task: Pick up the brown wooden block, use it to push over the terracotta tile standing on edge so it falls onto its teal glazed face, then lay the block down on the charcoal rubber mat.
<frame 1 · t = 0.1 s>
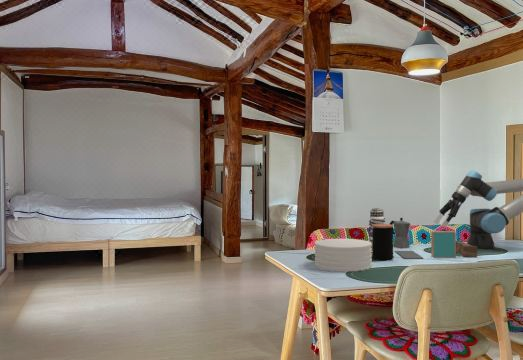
hand: (439, 224, 271), 15 cm above the table, tool tilted 35°, fingers open, 13 cm apart
plate stack: (343, 266, 233), on the table
coffeepot: (400, 247, 286), on the table
coffee jar: (382, 259, 249), on the table
glazed tile: (443, 257, 251), on the table
decorative candle: (377, 252, 270), on the table
rubber mat: (408, 255, 258), on the table
brown wooden block: (463, 254, 259), on the table
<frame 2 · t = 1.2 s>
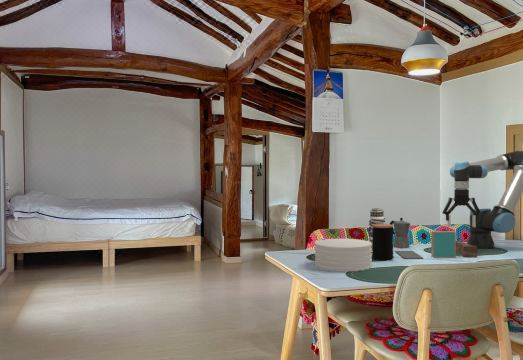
hand: (461, 226, 262), 15 cm above the table, tool pointing down, fingers open, 13 cm apart
nothing on the table moved.
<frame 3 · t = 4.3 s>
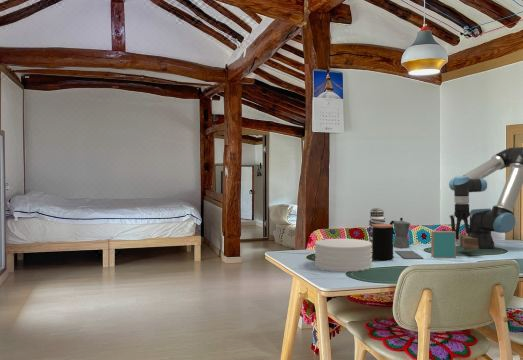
hand: (462, 245, 262), 5 cm above the table, tool pointing down, fingers closed on brown wooden block, 3 cm apart
brown wooden block: (464, 246, 259), point 4 cm above the table, touching gripper
everything else where it was.
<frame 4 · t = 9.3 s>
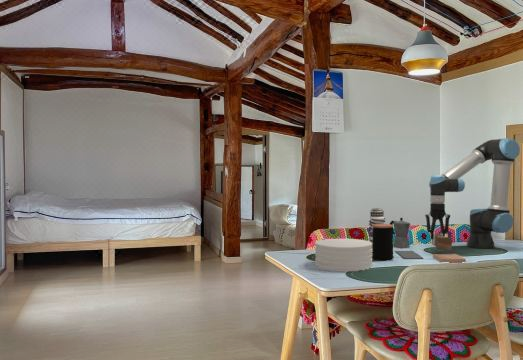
hand: (437, 244, 260), 5 cm above the table, tool pointing down, fingers closed on brown wooden block, 3 cm apart
glazed tile: (444, 256, 249), point 1 cm above the table, tilted 90°
brown wooden block: (439, 246, 257), point 5 cm above the table, touching gripper
everything else where it was.
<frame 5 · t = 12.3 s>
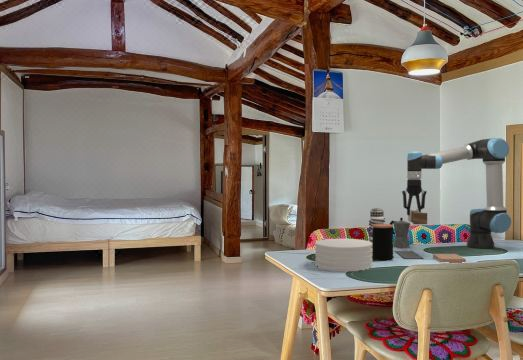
hand: (413, 221, 261), 18 cm above the table, tool pointing down, fingers closed on brown wooden block, 3 cm apart
brown wooden block: (415, 222, 258), point 18 cm above the table, touching gripper
everything else where it was.
when the fingers open (1 cm above the table, at t = 14.9 s): brown wooden block stays where it is, resting on rubber mat.
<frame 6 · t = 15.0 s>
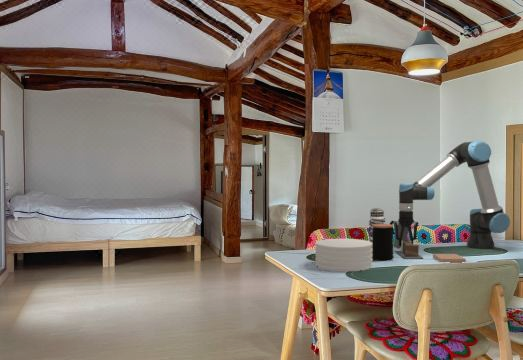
hand: (405, 252, 263), 1 cm above the table, tool pointing down, fingers open, 4 cm apart
brown wooden block: (407, 253, 260), point 1 cm above the table, touching gripper, rubber mat
everything else where it was.
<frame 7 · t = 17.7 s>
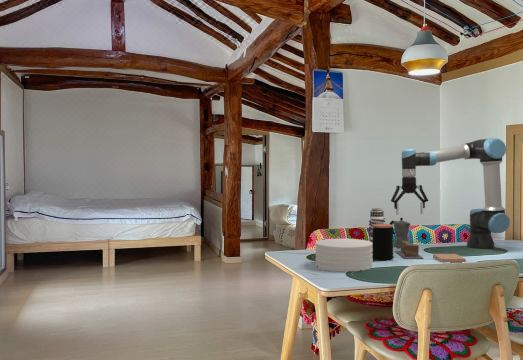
hand: (409, 214, 263), 22 cm above the table, tool pointing down, fingers open, 13 cm apart
brown wooden block: (407, 253, 260), point 1 cm above the table, touching rubber mat
everything else where it was.
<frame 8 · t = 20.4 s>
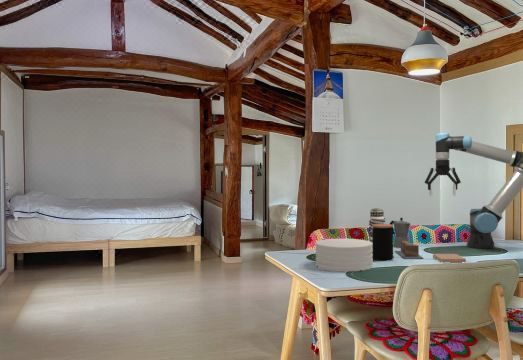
hand: (442, 195, 276), 32 cm above the table, tool pointing down, fingers open, 13 cm apart
nothing on the table moved.
at the end: glazed tile tilted 90°; glazed tile inside the target area (3.4 cm from its centre), point 0.8 cm above the table; brown wooden block inside the target area on the rubber mat (0.2 cm from its centre), point 0.6 cm above the rubber mat's base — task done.
